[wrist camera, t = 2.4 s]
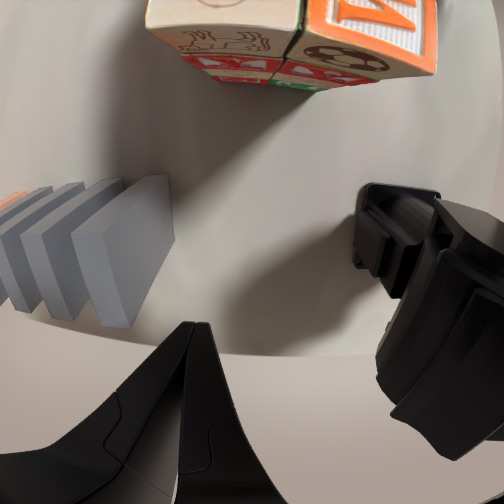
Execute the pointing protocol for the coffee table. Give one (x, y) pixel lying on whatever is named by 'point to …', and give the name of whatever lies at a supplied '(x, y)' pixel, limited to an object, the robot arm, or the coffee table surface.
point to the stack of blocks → (300, 39)
